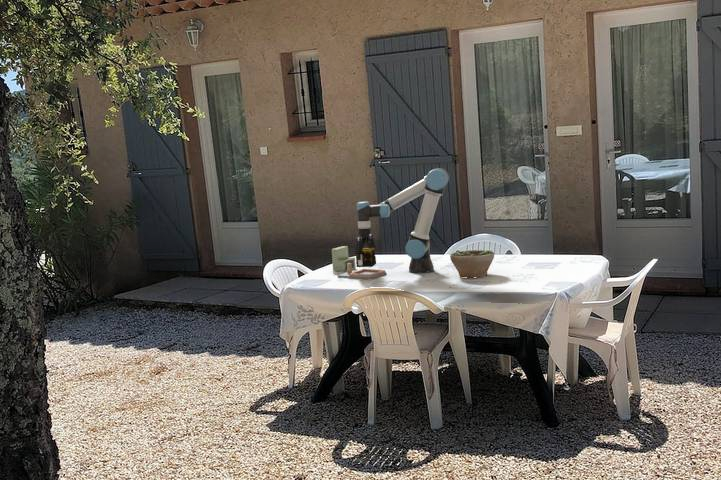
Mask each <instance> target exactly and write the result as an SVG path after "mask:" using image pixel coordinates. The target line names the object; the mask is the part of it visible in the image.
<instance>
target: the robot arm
mask: <svg viewBox="0 0 721 480" xmlns="http://www.w3.org/2000/svg"><path fill="white" fill-rule="evenodd" d="M449 180H450V174H449V172H448V171H447V170H446V169H445V168H443V167H437V168H433V169H432V170H430V171H429V172H428V173H427V174H426V175H425V176H424V177H423V179H421V180H419V181H418V182H416V183H414V184H412V185H411V186H409V187H407V188H405V189H404V190H401V191H400V192H399V193H397V194H394V195H393V196H391V197H390V198H387V199H386V200H384V201H382V202H380V203H379V204H370V202H369V201H359V202H357V203H356V216H357V227H358V229H357V232H358V235H359V237H356V244H355V250H354V254H355V255H356V254H357V256H358V265H363V262H362V254H361V253H362V250H363V248H365V247H364V246H365V245H367V246H368V247H367V248H375V252H376V250H377V245H376V243H375V240H374V234H372V229H371V218H388V217H390V216H391V212H393V211H395V210H396V209H398V208H401V207H402V206H404V205H406V204H407V203H410V202H411V201H413V200H415V199H416V198H418V197H420V196H422V195H423V194H424V196H423V199H422V200H423V201H422V202H421V203H422V204H421V207H420V210H419V213H418V217H417V220H416V222H415V226H414V230H413V231H411V233H410V235H409V237H408V241H407V243H406V244H405V253H406V255H407V256H408V257H410V258H411V259H410V263H409V266H408V271H409V273H413V274H414V273H415V274H424V273H430V272H434V271H435V266H434V263H433V261H432V259H431V247H430V246H431V244H430V234H429V233H430V231H431V227H432V223H433V220H434V216H435V213H436V210H437V207H438V203H439V201H440V197H441V196H443V195H444V193H445V189H446V186H447V184H448V183H449Z"/></svg>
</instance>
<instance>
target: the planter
mask: <svg viewBox="0 0 721 480" xmlns="http://www.w3.org/2000/svg"><path fill="white" fill-rule="evenodd" d="M449 256H450V257H449V258H450V261H451V263H452V264H453V266H454V268H456V271H457V272H458V276H460V277H459V278H461V277H467V278H466V279H475V278H474V277H481V278H484V277H483V276H485V277H487V276H488V271H489V268H491V267H490V266H491V265H492V262H493V260H494V258H495V252H494V251H493V250H481V249H474V250H461V251H455V252H452V253H450V254H449ZM486 275H487V276H486Z"/></svg>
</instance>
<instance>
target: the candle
mask: <svg viewBox="0 0 721 480" xmlns="http://www.w3.org/2000/svg"><path fill="white" fill-rule="evenodd" d="M361 254H362V262H363V265H358V256H357V254H355V266H356V268H372V267H374V266H376V264H377V257H376V251H375V248H369V247H363V250H362V253H361Z"/></svg>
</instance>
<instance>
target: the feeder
mask: <svg viewBox="0 0 721 480" xmlns="http://www.w3.org/2000/svg"><path fill="white" fill-rule="evenodd" d="M331 259H332V261H331V262H332V271H333V272H341V271H342V272H343V273H346V272H348V271H347V263H352V270H354V269H356V268H357V267H356V266H357V265H356V256H354V257H352V256H351V257H350V256H349V247H348V245H345V246H343V245H342V246H338V247H335V248H331Z"/></svg>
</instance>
